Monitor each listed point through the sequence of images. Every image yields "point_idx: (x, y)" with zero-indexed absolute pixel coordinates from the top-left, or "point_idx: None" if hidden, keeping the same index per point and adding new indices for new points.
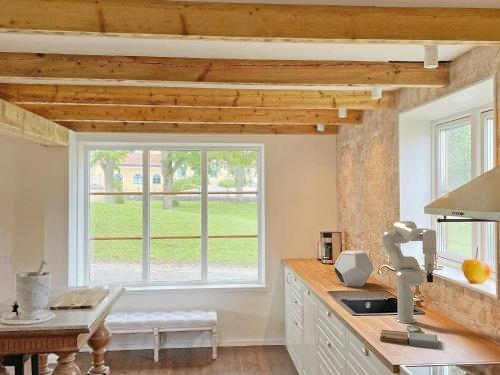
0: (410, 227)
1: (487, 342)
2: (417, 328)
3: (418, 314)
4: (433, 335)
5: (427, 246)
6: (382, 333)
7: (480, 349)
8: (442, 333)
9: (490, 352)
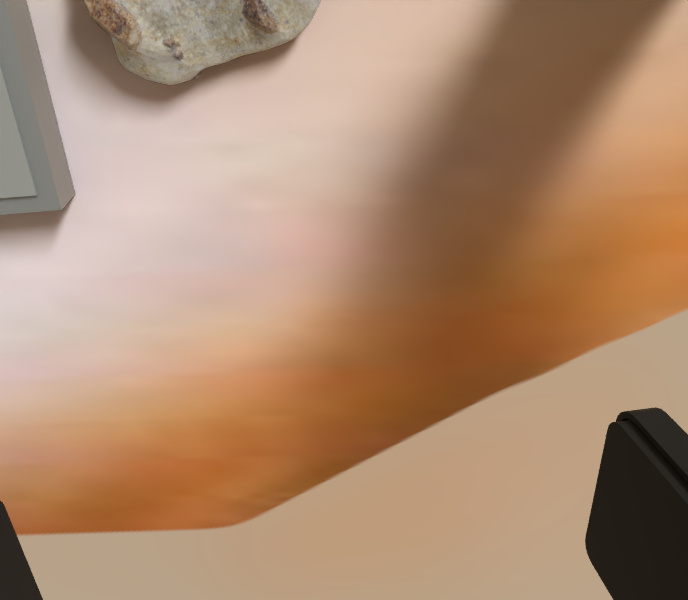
0: None
1: (224, 494)
2: (224, 3)
3: None
4: (3, 183)
5: None
6: None
7: (31, 468)
8: (320, 229)
9: None
